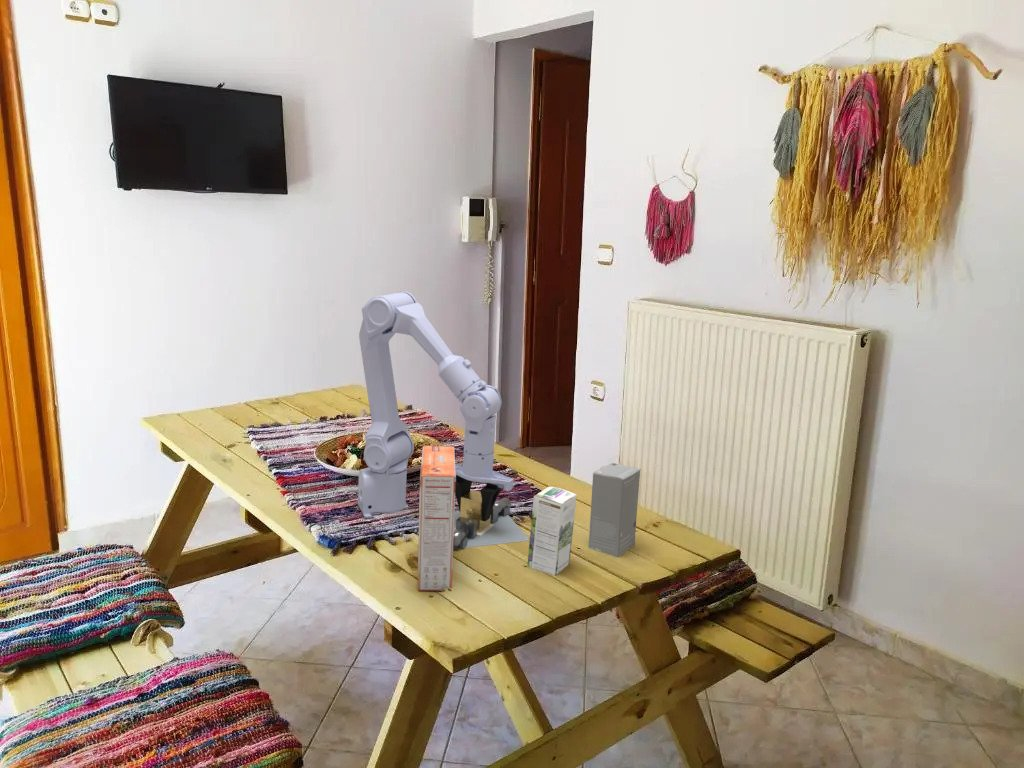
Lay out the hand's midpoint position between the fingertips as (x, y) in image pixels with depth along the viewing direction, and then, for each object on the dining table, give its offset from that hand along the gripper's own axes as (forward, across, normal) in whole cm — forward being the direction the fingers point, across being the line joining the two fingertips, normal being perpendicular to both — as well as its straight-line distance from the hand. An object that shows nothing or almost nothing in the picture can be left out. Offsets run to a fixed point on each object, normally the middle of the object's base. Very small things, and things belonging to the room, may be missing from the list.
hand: (475, 516), depth 155 cm
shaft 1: (+2, -1, +7) cm, 8 cm away
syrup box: (+3, -19, +6) cm, 20 cm away
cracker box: (+3, -2, +18) cm, 19 cm away
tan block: (+2, 0, 0) cm, 2 cm away
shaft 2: (+2, -1, -7) cm, 8 cm away
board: (+3, 0, 0) cm, 3 cm away
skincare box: (+3, -25, -8) cm, 27 cm away
